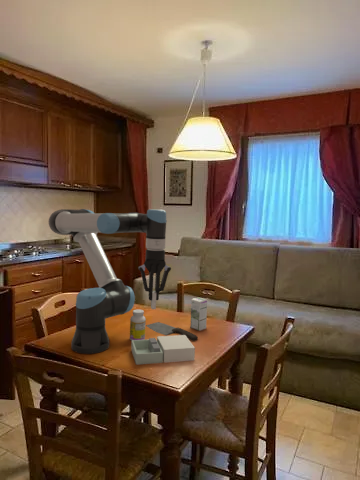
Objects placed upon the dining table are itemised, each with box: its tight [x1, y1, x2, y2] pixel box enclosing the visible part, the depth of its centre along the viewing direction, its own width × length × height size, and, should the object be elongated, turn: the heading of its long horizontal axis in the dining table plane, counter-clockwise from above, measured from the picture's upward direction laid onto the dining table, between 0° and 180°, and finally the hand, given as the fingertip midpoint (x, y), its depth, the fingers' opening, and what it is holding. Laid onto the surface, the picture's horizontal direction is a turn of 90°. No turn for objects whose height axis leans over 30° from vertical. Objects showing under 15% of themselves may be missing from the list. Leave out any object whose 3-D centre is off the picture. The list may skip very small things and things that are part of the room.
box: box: [130, 338, 164, 366], centre depth 145 cm, size 10×14×4 cm
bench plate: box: [156, 334, 196, 363], centre depth 148 cm, size 12×14×5 cm
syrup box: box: [190, 296, 208, 332], centre depth 179 cm, size 6×6×14 cm
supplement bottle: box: [129, 308, 147, 342], centre depth 162 cm, size 7×7×13 cm
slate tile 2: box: [148, 337, 157, 353], centre depth 149 cm, size 4×4×2 cm
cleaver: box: [145, 321, 199, 342], centre depth 173 cm, size 30×10×2 cm, turn 46°
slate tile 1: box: [151, 344, 160, 353], centre depth 143 cm, size 4×4×2 cm
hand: (153, 308), depth 148 cm, fingers closed
